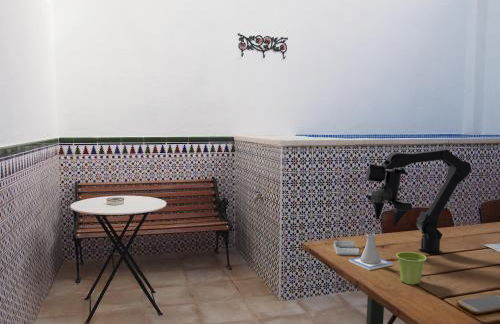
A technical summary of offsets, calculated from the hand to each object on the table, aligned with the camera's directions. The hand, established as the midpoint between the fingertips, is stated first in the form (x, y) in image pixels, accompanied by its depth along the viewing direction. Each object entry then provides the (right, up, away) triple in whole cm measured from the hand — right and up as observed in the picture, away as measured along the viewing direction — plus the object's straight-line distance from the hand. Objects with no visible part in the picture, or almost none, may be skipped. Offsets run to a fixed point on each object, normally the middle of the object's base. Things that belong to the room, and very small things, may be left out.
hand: (385, 222), depth 187 cm
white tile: (-10, -14, -13) cm, 21 cm away
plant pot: (-1, -16, -32) cm, 35 cm away
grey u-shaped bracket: (-15, -12, +3) cm, 19 cm away
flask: (-9, -13, -13) cm, 21 cm away
